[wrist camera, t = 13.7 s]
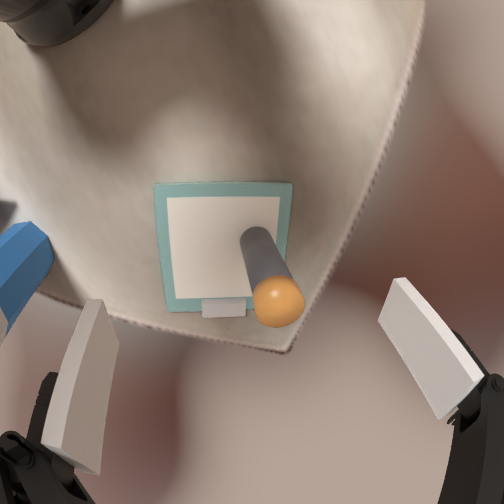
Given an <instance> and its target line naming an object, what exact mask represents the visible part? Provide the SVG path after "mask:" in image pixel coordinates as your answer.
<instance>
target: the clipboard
mask: <svg viewBox="0 0 504 504" xmlns="http://www.w3.org/2000/svg"><path fill="white" fill-rule="evenodd" d="M292 191H293V185H292V184H291V183H277V182H183V183H158V184H155V185H154V200H155V213H156V225H157V236H158V245H159V254H160V263H161V271H162V278H163V285H164V292H165V299H166V305H167V311H168V312H194V311H202V318H215V317H238V316H246V310H247V309H255V308H254V304H253V300H252V291H251V287H250V283H249V279H248V275H247V271H246V267H245V263H244V259H243V255H242V251H241V247H240V238H241V236H242V234H243V233H244V232H245V231H246V230H247V229H249V228H251V227H256V226H258V227H263V228H265V229H267V230H268V231H269V232H270V234H271V236H272V238H273V240H274V242H275V244H276V246H277V248H278V250H279V252H280V254H281V256H282V258H283V260H284V262H285V254H286V246H287V237H288V228H289V219H290V210H291V200H292Z"/></svg>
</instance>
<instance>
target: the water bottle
mask: <svg viewBox="0 0 504 504" xmlns="http://www.w3.org/2000/svg"><path fill="white" fill-rule="evenodd" d="M53 261H54V256H53V252H52V249H51V246H50V242H49V239H48V236H47V235H46V234H45V233H43V232H42V231H41V230H40V229H39V228H38V227H37V226H35V225H34V224H33V223H32V222H31V221H29V222H23V223H18V224H14V225H13V226H11V227H10V228H9V229H8V230H7V231H5V232H4V233H3V234H2V235H1V236H0V346H1V344H2V342H3V340H4V339H5V337H6V335H7V333H8V332H9V330H10V328H11V327H12V325H13V324H14V322H15V321H16V319H17V317H18V316H19V314H20V313H21V311H22V310H23V308H24V307H25V305H26V303H27V302H28V301H29V299H30V298H31V296H32V295H33V293H34V292H35V291H36V289H37V288H38V286H39V285H40V284H41V282H42V281H43V280H44V278H45V277H46V275H47V274H48V272H49V270H50V267H51V265H52V263H53Z"/></svg>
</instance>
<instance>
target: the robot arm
mask: <svg viewBox="0 0 504 504" xmlns="http://www.w3.org/2000/svg"><path fill="white" fill-rule="evenodd" d="M112 1H113V0H0V21H2V22H6V23H7V24H8V25H9V26H10V27H11V28H12V29H13V30H14V31H15V33H16V35H17V36H18V37H19V39H21V40H22V41H23V42H25V43H27V44H31V45H34V46H39V47H49V46H54V45H58V44H61V43H63V42H66V41H68V40H70V39H72V38H73V37H75V36H77V35H78V34H80V33H81V32H83V31H84V30H85V29H87V28H88V27H89V26H90V25H92V24H93V23H94V22H95V21H96V20H97V19H98V18H99V17H100V16H101V15H102V14H103V13H104V12H105V11H106V9H107V8H108V7H109V6H110V4H111V3H112ZM378 322H379V323H380V325H381V326H382V328H383V329H384V331H385V332H386V334H387V336H388V337H389V338H390V340H391V342H392V343H393V345H394V346H395V348H396V350H397V351H398V353H399V354H400V356H401V357H402V359H403V361H404V362H405V364H406V365H407V367H408V369H409V370H410V372H411V374H412V375H413V377H414V379H415V380H416V382H417V384H418V385H419V387H420V389H421V390H422V392H423V394H424V396H425V397H426V399H427V401H428V403H429V404H430V406H431V408H432V410H433V411H434V413H435V415H436V417H437V419H438V420H439V419H441V418H443V417H445V416H446V415H448V414H450V413H451V412H452V411H453V410H454V409H455V408H456V407H457V406H458V408H459V410H457V411H456V413H455V414H453V415H452V416H451V417H450V418H449V420H448V422H447V424H449V423H451V422H452V421H453V420H454V419H455V421H453V423H452V425H454V433H453V440H452V446H451V451H450V457H449V461H448V466H447V471H446V475H445V479H444V483H443V487H442V491H441V494H440V497H439V501H438V504H504V378H502V376H500V375H498V374H491V375H490V374H489V373H488V372H487V371H486V369H485V368H484V366H483V365H482V363H481V362H480V361H479V359H478V358H477V357H476V355H475V354H474V353H473V351H471V349H470V348H469V346H468V345H466V342H465V341H464V340H463V339H462V337H461V336H460V335H459V334H458V333H456V332H455V331H454V330H452V329H449V328H448V326H447V325H446V324H445V323H444V322H443V321H442V319H441V318H440V317H439V315H438V314H437V313H436V312H435V311H434V310H433V308H432V307H431V306H430V305H429V304H428V303H427V301H426V300H425V299H424V298H423V297H422V296H421V295H420V293H419V292H418V291H417V290H416V289H415V288H414V287H413V286H412V284H411V283H410V282H409V281H408V280H407V279H406V278H405V277H404V278H397V279H394V280H393V282H392V285H391V288H390V291H389V293H388V296H387V299H386V301H385V304H384V307H383V309H382V312H381V314H380V316H379V319H378ZM119 345H120V344H119V341H118V339H117V336H116V334H115V331H114V329H113V326H112V324H111V321H110V318H109V316H108V313H107V310H106V307H105V305H104V302H103V299H97V300H87V301H86V303H85V306H84V308H83V310H82V313H81V315H80V318H79V320H78V322H77V325H76V327H75V330H74V333H73V335H72V338H71V340H70V343H69V345H68V348H67V351H66V354H65V357H64V359H63V362H62V365H61V368H60V371H59V373H56V372H49V373H48V375H47V376H46V377H45V379H44V380H43V381H42V384H41V387H40V390H39V396H38V397H37V400H36V405H35V406H34V410H33V414H32V418H31V421H30V425H29V429H28V433H27V437H26V439H25V438H24V437H22V436H21V435H20V434H19V433H17V432H15V431H7V432H5V433H4V434H2V435H1V436H0V504H95V502H94V501H93V500H92V498H91V497H90V495H89V494H88V493H87V491H86V490H85V488H84V487H83V485H82V484H81V483H80V481H79V479H78V478H77V476H76V475H75V474H74V467H75V468H77V469H78V470H80V471H81V472H86V473H90V474H95V475H100V467H101V455H102V445H103V436H104V428H105V421H106V413H107V407H108V401H109V395H110V389H111V383H112V377H113V373H114V368H115V363H116V358H117V354H118V350H119Z"/></svg>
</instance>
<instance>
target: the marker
mask: <svg viewBox="0 0 504 504" xmlns="http://www.w3.org/2000/svg"><path fill="white" fill-rule="evenodd" d="M240 247H241V251H242V255H243V259H244V263H245V267H246V271H247V275H248V279H249V283H250V287H251V291H252V300H253V304H254V308H255V312H256V316H257V318H258V320H259V321H260V322H261V323H262V324H264V325H266V326H269V327H283V326H286V325H289V324H291V323H292V322H294V321H295V320H297V319H298V318H299V317H300V315H301V314H302V312H303V310H304V306H305V302H304V299H303V296H302V294H301V292H300V290H299V288H298V286H297V284H296V283H295V281H294V280H293V278H292V276H291V274H290V272H289V270H288V268H287V266H286V264H285V262H284V260H283V258H282V256H281V254H280V252H279V250H278V248H277V246H276V244H275V242H274V240H273V238H272V236H271V234H270V232H269V231H268V230H267V229H265V228H263V227H258V226H256V227H251V228H249V229H247V230H246V231H245V232H244V233H243V234H242V236H241V238H240Z"/></svg>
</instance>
